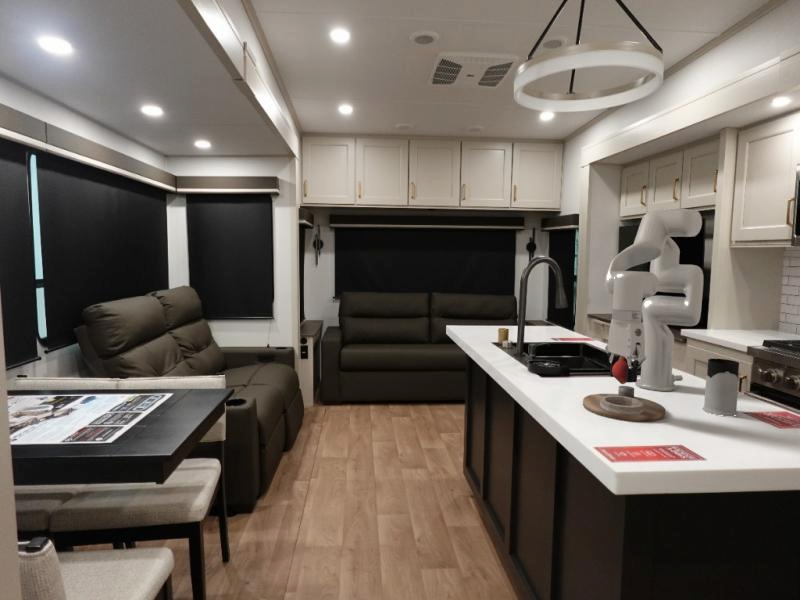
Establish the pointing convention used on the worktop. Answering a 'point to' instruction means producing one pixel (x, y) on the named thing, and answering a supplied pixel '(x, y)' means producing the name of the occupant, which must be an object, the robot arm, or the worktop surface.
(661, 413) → the carrier plate
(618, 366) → the red rounded piece
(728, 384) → the glass holder
